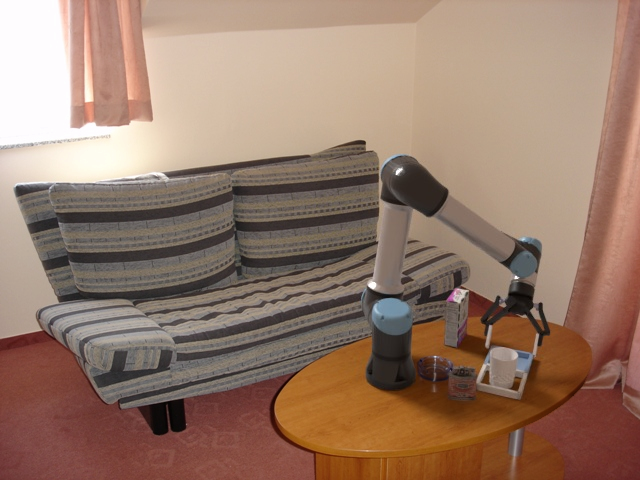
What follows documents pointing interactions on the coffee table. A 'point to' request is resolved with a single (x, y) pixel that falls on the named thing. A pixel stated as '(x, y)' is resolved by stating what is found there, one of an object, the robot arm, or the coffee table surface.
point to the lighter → (462, 383)
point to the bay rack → (521, 372)
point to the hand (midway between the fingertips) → (510, 351)
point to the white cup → (502, 367)
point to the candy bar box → (456, 317)
